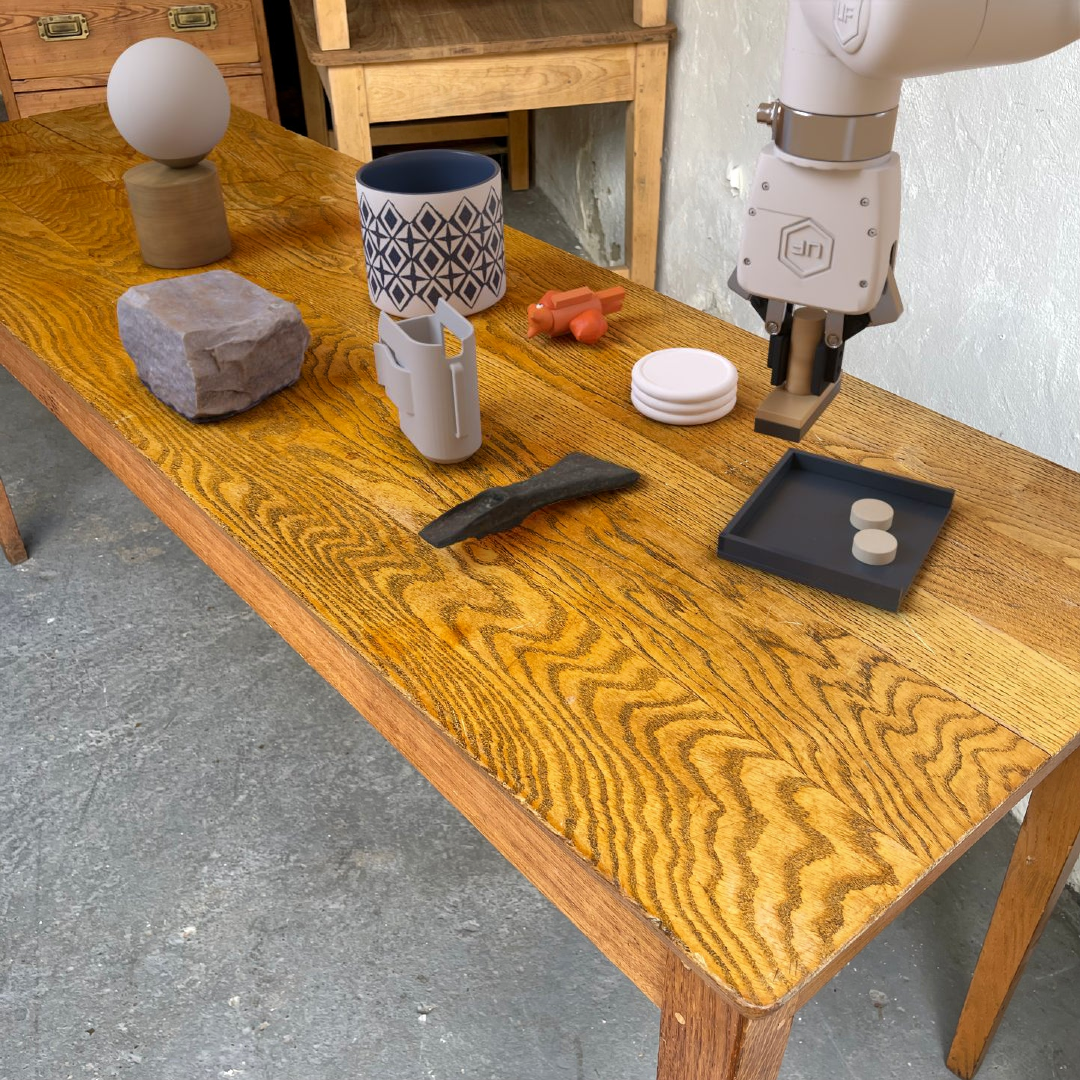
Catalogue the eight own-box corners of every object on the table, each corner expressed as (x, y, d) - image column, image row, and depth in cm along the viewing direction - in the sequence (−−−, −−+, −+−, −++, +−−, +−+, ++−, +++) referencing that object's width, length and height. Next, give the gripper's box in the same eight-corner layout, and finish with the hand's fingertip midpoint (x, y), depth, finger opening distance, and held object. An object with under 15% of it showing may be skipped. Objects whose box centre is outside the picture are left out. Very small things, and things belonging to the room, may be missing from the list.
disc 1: (896, 517, 88) (898, 505, 87) (884, 537, 86) (886, 525, 85) (857, 506, 90) (859, 494, 89) (844, 526, 87) (846, 513, 87)
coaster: (659, 436, 101) (661, 402, 99) (613, 389, 108) (614, 357, 106) (755, 414, 104) (758, 380, 102) (704, 370, 111) (706, 338, 109)
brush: (840, 391, 86) (854, 295, 82) (798, 443, 80) (811, 342, 75) (797, 381, 88) (809, 286, 83) (753, 431, 82) (763, 332, 77)
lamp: (190, 222, 151) (148, 23, 137) (276, 234, 147) (242, 30, 132) (114, 261, 140) (59, 49, 126) (205, 275, 135) (159, 57, 121)
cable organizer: (442, 405, 107) (431, 287, 100) (497, 463, 98) (490, 338, 91) (377, 422, 104) (362, 303, 97) (428, 483, 95) (415, 357, 88)
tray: (951, 511, 90) (956, 489, 89) (896, 613, 79) (900, 590, 78) (787, 467, 96) (789, 446, 95) (716, 557, 86) (718, 535, 84)
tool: (580, 464, 100) (580, 433, 98) (646, 489, 95) (647, 456, 93) (399, 544, 87) (396, 509, 85) (465, 578, 82) (463, 541, 80)
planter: (527, 307, 125) (522, 180, 117) (392, 334, 120) (377, 203, 112) (479, 260, 137) (471, 141, 129) (354, 282, 132) (338, 161, 124)
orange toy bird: (612, 264, 119) (516, 289, 115) (649, 307, 116) (551, 334, 111) (604, 301, 123) (510, 326, 119) (639, 343, 120) (544, 371, 115)
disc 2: (900, 548, 85) (902, 535, 84) (887, 570, 83) (890, 557, 82) (859, 536, 86) (861, 524, 85) (846, 558, 84) (848, 545, 83)
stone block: (333, 298, 108) (195, 313, 97) (330, 411, 112) (198, 437, 102) (237, 264, 117) (102, 274, 107) (238, 369, 122) (109, 388, 112)
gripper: (696, 129, 73) (681, 379, 83) (944, 164, 66) (893, 432, 76) (741, 102, 78) (722, 341, 89) (975, 131, 71) (924, 387, 82)
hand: (801, 381), depth 82 cm, fingers closed on brush, 2 cm apart
